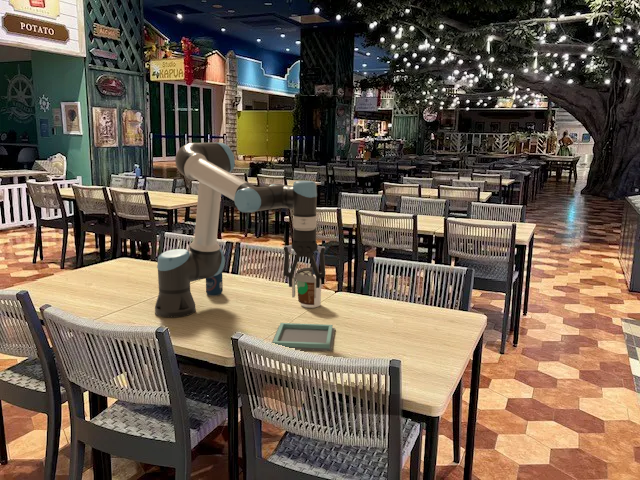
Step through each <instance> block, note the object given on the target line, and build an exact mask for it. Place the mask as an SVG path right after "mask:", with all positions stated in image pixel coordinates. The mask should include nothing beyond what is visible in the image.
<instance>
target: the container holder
mask: <svg viewBox="0 0 640 480" xmlns="http://www.w3.org/2000/svg"><path fill="white" fill-rule="evenodd" d="M333 325H334V324H325V323H324V324H323V323H322V324H319V323H295V322H280V323H279V325H278V327H277V329H276V331H275V334H274V336H273V338H272V342H271V343H275V344H278V345H282V346H285V347H289V348H295V349H301V350H300V351H308V350H313V351H315V352H333V345H334V337H335V332H336V328H335V327H333ZM313 351H312V352H313Z"/></svg>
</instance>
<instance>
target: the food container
mask: <svg viewBox="0 0 640 480" xmlns="http://www.w3.org/2000/svg"><path fill="white" fill-rule="evenodd" d="M313 275H314V271H313V267H311V266H310V267H303V268H299V269H296V272H295V275H294V276H295V281H296V286H297V287H296V288H297V298H298V301H297V302H299V303H300V304H301V303H302V304H306V305H314V284H315V276H313Z"/></svg>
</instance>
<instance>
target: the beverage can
mask: <svg viewBox="0 0 640 480" xmlns="http://www.w3.org/2000/svg"><path fill="white" fill-rule="evenodd" d="M313 276H315V274H313ZM315 277H316V276H315ZM321 301H322V278H320V287H319V288H317V296H316V298H314V305H306V304H302V303H300V306H301V307H303V308H305V309H306V308H307V309H316V308H318V307H320V306H321V303H322V302H321Z"/></svg>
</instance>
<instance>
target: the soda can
mask: <svg viewBox="0 0 640 480" xmlns="http://www.w3.org/2000/svg"><path fill="white" fill-rule="evenodd" d="M223 288H224V286H223V270H222V271H221V273H220V274H218V275H216V276H213V277H211V278H205V291H206V292H205V293H206V294H207V295H208V296H209V297H218V296H221V295H222V293H223V290H224V289H223Z"/></svg>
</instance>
